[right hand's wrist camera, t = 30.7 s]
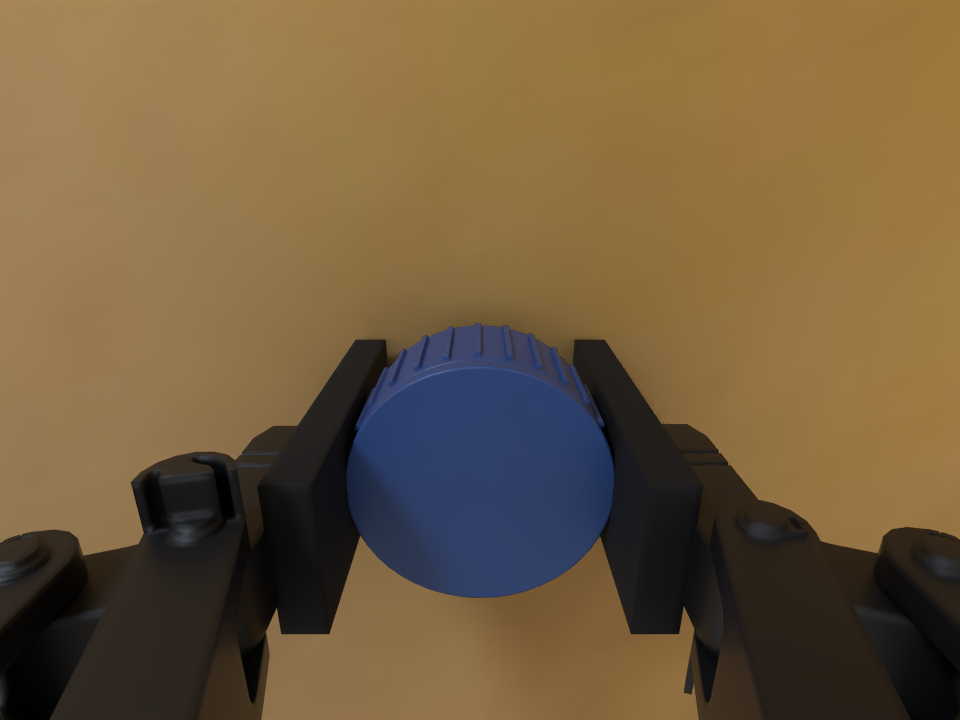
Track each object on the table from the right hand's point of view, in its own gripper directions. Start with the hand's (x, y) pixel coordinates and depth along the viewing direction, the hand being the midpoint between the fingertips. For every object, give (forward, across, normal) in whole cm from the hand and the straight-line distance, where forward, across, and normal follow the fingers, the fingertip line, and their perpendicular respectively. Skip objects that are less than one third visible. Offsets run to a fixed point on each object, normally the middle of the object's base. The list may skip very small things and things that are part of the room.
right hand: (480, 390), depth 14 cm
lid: (-4, 0, 0) cm, 4 cm away
